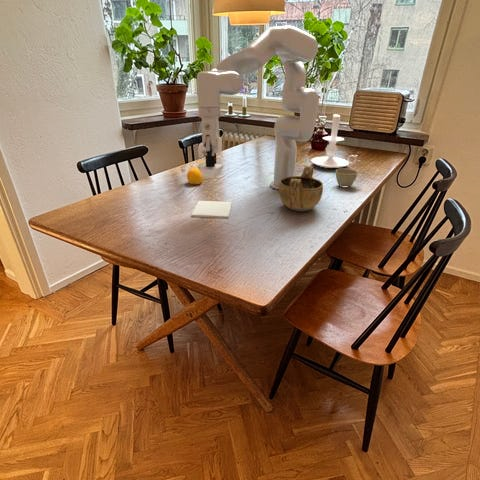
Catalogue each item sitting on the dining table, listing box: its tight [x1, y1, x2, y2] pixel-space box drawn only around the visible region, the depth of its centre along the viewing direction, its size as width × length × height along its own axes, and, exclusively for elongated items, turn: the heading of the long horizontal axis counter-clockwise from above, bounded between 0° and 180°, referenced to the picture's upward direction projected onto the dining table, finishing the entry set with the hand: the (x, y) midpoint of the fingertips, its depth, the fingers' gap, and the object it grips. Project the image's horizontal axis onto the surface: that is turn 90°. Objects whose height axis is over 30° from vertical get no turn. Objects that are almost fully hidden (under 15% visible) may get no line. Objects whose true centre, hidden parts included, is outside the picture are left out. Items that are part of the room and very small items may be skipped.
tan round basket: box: [278, 165, 324, 212], centre depth 127 cm, size 22×17×15 cm
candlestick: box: [310, 113, 358, 169], centre depth 175 cm, size 21×25×28 cm
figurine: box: [196, 136, 225, 179], centre depth 118 cm, size 7×9×15 cm
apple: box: [186, 167, 205, 185], centre depth 155 cm, size 8×8×8 cm
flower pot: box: [335, 168, 359, 187], centre depth 153 cm, size 10×10×7 cm
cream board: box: [191, 200, 233, 219], centre depth 128 cm, size 14×14×1 cm
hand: (211, 164), depth 120 cm, fingers closed on figurine, 3 cm apart
